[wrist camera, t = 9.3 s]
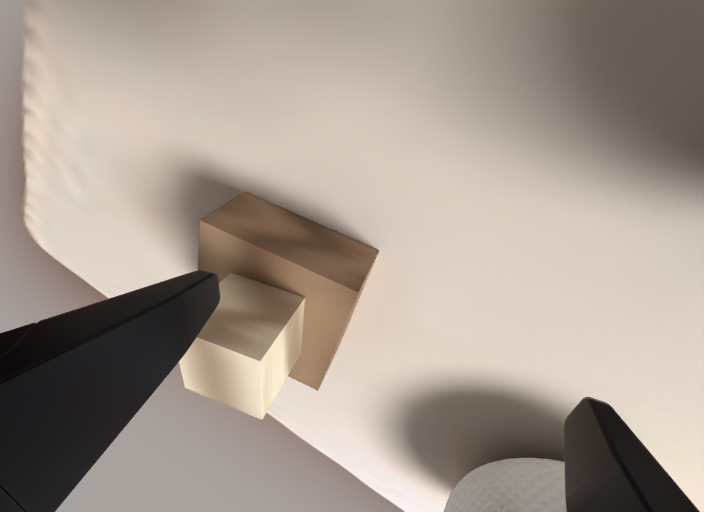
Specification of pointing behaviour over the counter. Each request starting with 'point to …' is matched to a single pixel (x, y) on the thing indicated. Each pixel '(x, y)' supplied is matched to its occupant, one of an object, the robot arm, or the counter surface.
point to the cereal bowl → (511, 487)
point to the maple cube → (246, 345)
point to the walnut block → (291, 269)
